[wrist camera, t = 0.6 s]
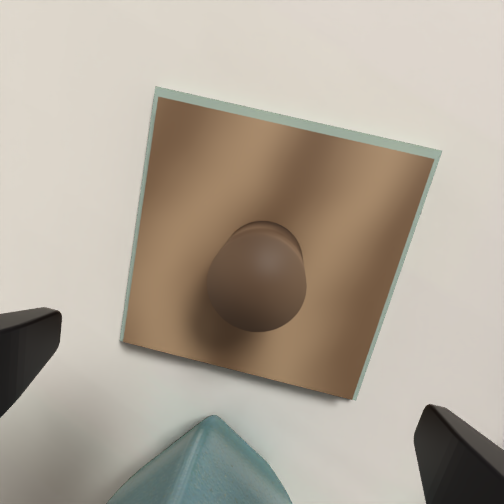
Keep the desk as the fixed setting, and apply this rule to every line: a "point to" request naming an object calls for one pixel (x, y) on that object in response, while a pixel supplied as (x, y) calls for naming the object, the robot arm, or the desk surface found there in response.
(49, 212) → the desk surface
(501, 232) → the desk surface
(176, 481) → the flower pot
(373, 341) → the mat
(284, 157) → the lid
